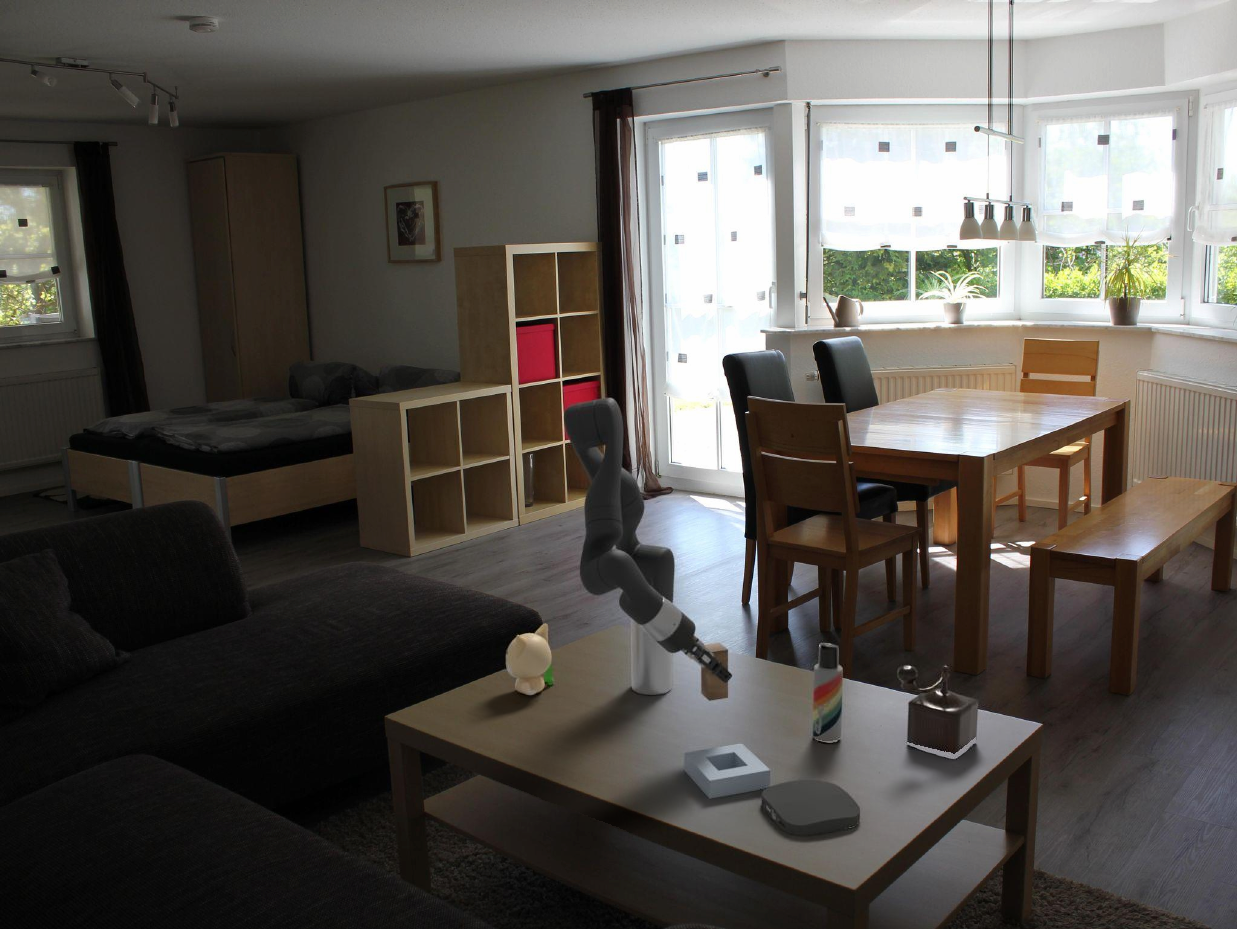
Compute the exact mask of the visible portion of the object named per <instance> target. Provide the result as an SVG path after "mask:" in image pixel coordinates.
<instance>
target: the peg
mask: <svg viewBox="0 0 1237 929" xmlns="http://www.w3.org/2000/svg"><path fill="white" fill-rule="evenodd" d="M704 646H705V647H706V648H707V649H709V650H710V651H711V652H712V653H713V654H714V658H715V659H716V660H717V661H719V662H721V663H722V665H723V667H724V668H725V669H727V670H728V671H729V649H728V648H727V647H726V646H724V645H723V644H722V643H720V642H716V643H715V642H714V643H709V644H704ZM704 650H705V649H704ZM705 651H706V650H705ZM700 669H701V670H700V688H701V689H700V693H701V695H703V697H704V698H706V699H707V701H710V702H711V701H716V700H724V699H728V698H729V681H728V682H727V683H724V682H723V681H722V680H721V679H720V678H718V677H717V676H716V675H714V674H712V673H711V672H710V670H709V669H707V668H706V667H701V666H700Z"/></svg>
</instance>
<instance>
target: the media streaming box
mask: <svg viewBox="0 0 1237 929" xmlns="http://www.w3.org/2000/svg"><path fill="white" fill-rule="evenodd" d="M761 807H762V809H763V810H764V811H765V812H766V813H767V815H768V816H769V817H770V818H771V820H772V821H774V822H775V824H776V825H777V826H778V827H779V828H780V829H781V830H782V831H784V832H785V833H787V834H791V835H793V836H799V837H801V836H802V837H806V836H814V835H815V836H816V835H820V834H819V833H822V834H826V833H825V832H828V833H832V831H834V832H837V831H836V830H839V831H842V830H841V829H844V830H846V829H845V828H849V827H853V826H855V825H856V824H857V823H858V822H859V820H861V819H860V818H861V809H860V808H861V807H860V806H859V804H858V803H857V802H856V800H855V799H854V798H853V797H852V796H851V795H850V794H849V793H848V792H847V791H846V790H845V789H843V787H841V786H839V785H837V784H836V783H832V782H829V781H827V780H821V779H798V780H797V779H796V780H791V781H790V780H789V781H786V782H781V783H778V784H773V785H770V787H768V788H766V789H763V791H762V792H761ZM859 823H860V822H859ZM855 827H856V826H855ZM853 828H854V827H853ZM849 829H850V828H849Z"/></svg>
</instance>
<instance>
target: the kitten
mask: <svg viewBox="0 0 1237 929" xmlns="http://www.w3.org/2000/svg"><path fill="white" fill-rule="evenodd" d="M548 634H549V625H548V624H547V623H543V624H542V625H541V626H540V627H539V628H538V629H537V630H536V631H535V632H534V633H533V632H532V633H531V632H528V633H527V632H526V633H523V634H520V635H519V634H516V637H515V638H513V640H512V641H511V642H510V643H509V645H508V647H507V649H506V650H505V666H506V670H507V672H508V674H509V675H510V676H511V677H513V678H516V680H515V684H514V687H515V690H516V691H517V692H519V693H522V694H524V695H527V696H533V695H535V694H537V693H540V692H541V691H543V689H544V688H545V683H547V686H554V684H555V680H554V678H553V671H554V670H553V666H552V659H553V658H552V651H551V647H550V645H549V636H548ZM542 674H543V676H542Z"/></svg>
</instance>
